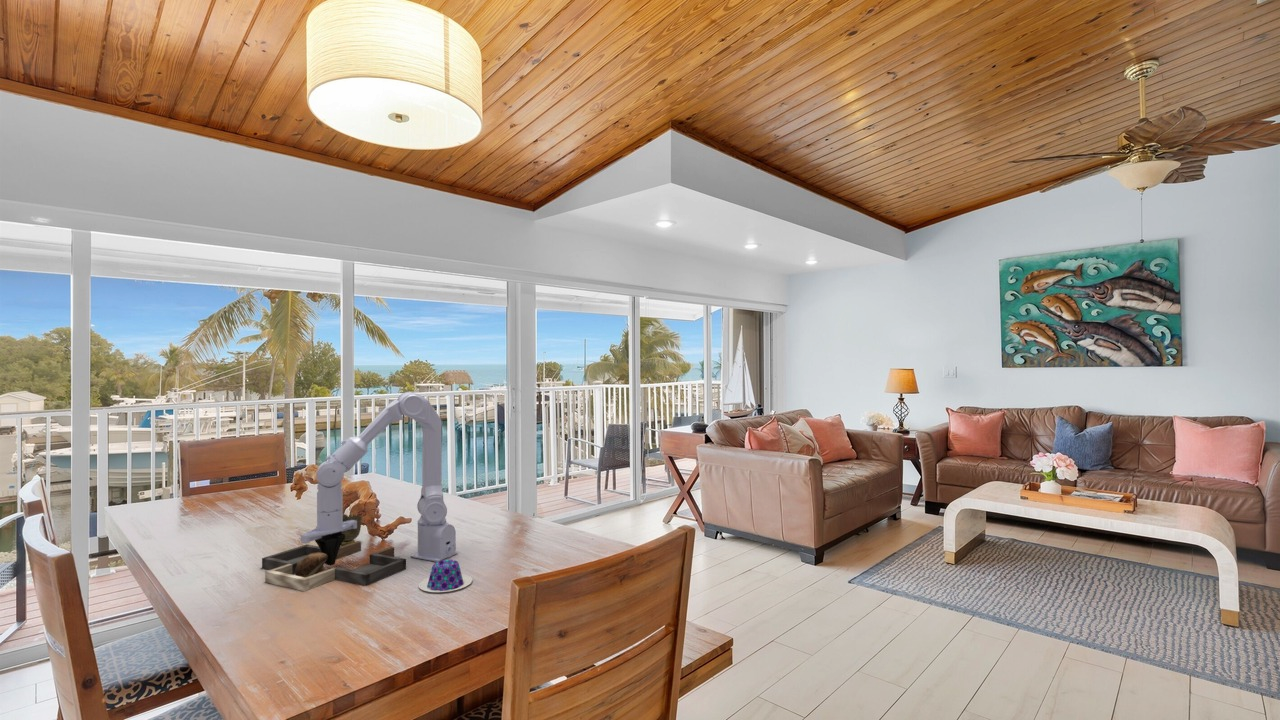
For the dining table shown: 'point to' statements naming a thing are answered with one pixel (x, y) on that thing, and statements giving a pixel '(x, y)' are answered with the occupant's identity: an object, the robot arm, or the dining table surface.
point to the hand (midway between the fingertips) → (330, 564)
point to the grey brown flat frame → (287, 561)
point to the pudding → (445, 577)
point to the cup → (351, 533)
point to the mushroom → (311, 564)
